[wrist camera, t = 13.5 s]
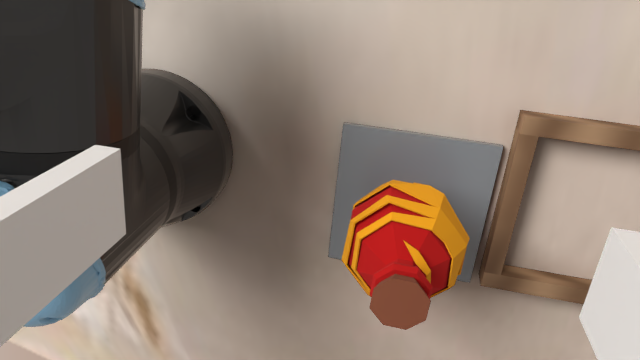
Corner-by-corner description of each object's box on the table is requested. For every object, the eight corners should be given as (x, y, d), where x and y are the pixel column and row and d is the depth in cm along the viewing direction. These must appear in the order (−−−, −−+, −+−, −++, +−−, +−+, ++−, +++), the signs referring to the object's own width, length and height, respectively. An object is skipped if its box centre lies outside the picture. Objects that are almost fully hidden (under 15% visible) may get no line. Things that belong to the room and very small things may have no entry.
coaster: (329, 253, 53) (328, 256, 52) (344, 122, 47) (343, 124, 46) (469, 279, 51) (469, 282, 50) (502, 144, 45) (503, 147, 45)
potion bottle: (472, 248, 49) (491, 358, 35) (366, 263, 51) (344, 370, 38) (453, 144, 45) (464, 222, 32) (340, 166, 48) (306, 246, 34)
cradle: (478, 274, 50) (480, 285, 48) (520, 110, 44) (524, 116, 42) (660, 306, 48) (669, 319, 46) (732, 138, 41) (746, 146, 40)
